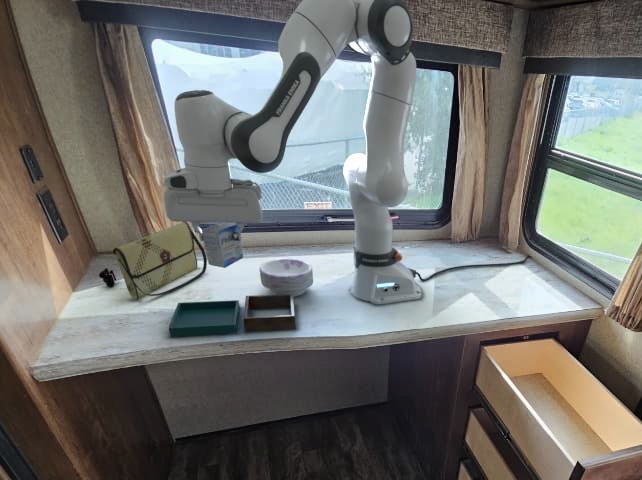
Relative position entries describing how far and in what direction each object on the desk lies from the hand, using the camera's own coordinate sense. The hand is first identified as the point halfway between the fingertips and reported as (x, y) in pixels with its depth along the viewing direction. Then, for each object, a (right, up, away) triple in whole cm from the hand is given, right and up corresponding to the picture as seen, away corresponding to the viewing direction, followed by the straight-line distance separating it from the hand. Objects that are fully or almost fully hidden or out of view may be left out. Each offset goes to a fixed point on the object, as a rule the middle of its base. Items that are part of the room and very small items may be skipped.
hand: (221, 240), depth 103 cm
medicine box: (-1, -4, +4) cm, 6 cm away
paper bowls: (+6, -6, +30) cm, 31 cm away
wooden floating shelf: (+6, -17, +15) cm, 23 cm away
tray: (-9, -18, +11) cm, 23 cm away
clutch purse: (-28, -4, +27) cm, 39 cm away
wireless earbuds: (-44, -6, +23) cm, 50 cm away
